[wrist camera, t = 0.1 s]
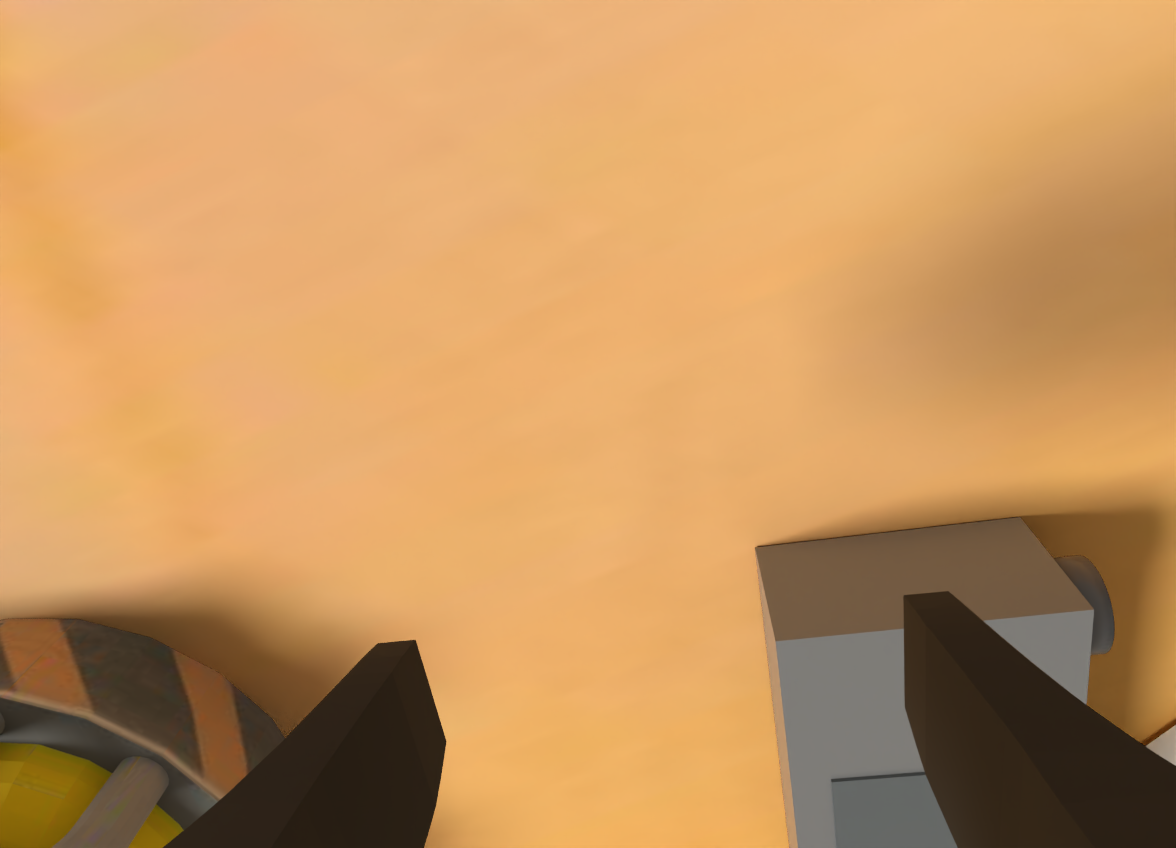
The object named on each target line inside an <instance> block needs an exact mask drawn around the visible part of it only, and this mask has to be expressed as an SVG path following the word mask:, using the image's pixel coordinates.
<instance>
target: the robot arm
mask: <svg viewBox="0 0 1176 848" xmlns="http://www.w3.org/2000/svg"><path fill="white" fill-rule="evenodd" d="M903 604H904V696H905V710H906V713H907V716H908V720H909V723H910V726H911V730H912V733H913V736H914V740H915V743H916V746H917V749H918V753H919V756H920V759H921V762H922V765H923V768H924V771H925V775H926V777H927V779H928V782H929V784H930V786H931V789H932V791H933V793H934V795H935V798H936V800H937V802H938V805H939V807H940V809H941V811H942V814H943V816H944V818H945V820H946V823H947V825H948V827H949V830H950V832H951V834H952V836H953V839H954V841H955V843H956V845H957V848H1176V766H1175V765H1174V764H1172V763H1171V762H1169V761H1167V760H1166V759H1164V758H1162V757H1161V756H1159V755H1158V754H1156V753H1155V752H1153V751H1152V750H1150V749H1149V748H1147V747H1146V746H1144V745H1143V744H1141V743H1140V742H1138V741H1136V740H1135V739H1134V738H1132V737H1131V736H1129V735H1128V734H1126V733H1125V732H1124V731H1122V730H1121V729H1119V728H1118V727H1116V726H1115V725H1114V724H1112V723H1111V722H1109V721H1108V720H1107V719H1105V718H1104V717H1102V716H1101V715H1100V714H1098V713H1097V712H1095V711H1094V710H1093V709H1091V708H1090V707H1089V706H1087V705H1086V704H1085V703H1083V702H1082V701H1081V700H1079V699H1078V698H1077V697H1075V696H1074V695H1073V694H1071V693H1070V692H1069V691H1068V690H1066V689H1065V688H1064V687H1063V686H1061V685H1060V684H1059V683H1058V682H1056V681H1055V680H1054V679H1052V678H1051V677H1050V676H1049V675H1047V674H1046V673H1045V672H1044V671H1042V670H1041V669H1040V668H1039V667H1037V666H1036V665H1035V664H1034V663H1032V662H1031V661H1030V660H1029V659H1028V658H1026V657H1025V656H1024V655H1023V654H1021V653H1020V652H1019V651H1018V650H1017V649H1016V648H1014V647H1013V646H1012V645H1011V644H1010V643H1008V642H1007V641H1006V640H1005V639H1004V638H1003V637H1001V636H1000V635H999V634H998V633H997V632H996V631H994V630H993V629H992V628H991V627H990V626H989V625H987V624H986V623H985V622H984V621H983V620H982V619H981V618H979V617H978V616H977V615H976V614H975V613H974V612H973V611H971V610H970V609H969V608H968V607H967V606H966V605H964V604H963V603H962V602H961V601H960V600H959V599H957V598H956V597H955V596H954V595H953V594H951V593H950V592H949V591H943V592H932V593H921V594H910V595H903ZM445 747H446V739H445V736H444V732H443V729H442V726H441V722H440V719H439V716H438V712H437V709H436V706H435V703H434V699H433V696H432V693H431V689H430V686H429V683H428V679H427V676H426V673H425V670H424V666H423V663H422V660H421V656H420V653H419V650H418V646H417V643H416V640H410V641H399V642H388V643H378V644H377V645H375V646H374V647H373V648H372V649H371V650H370V651H369V652H368V653H367V654H366V655H365V656H364V657H363V658H362V659H361V660H360V661H359V662H358V663H357V664H356V665H355V666H354V668H353V669H352V670H351V671H350V672H349V673H348V674H347V675H346V676H345V677H344V678H343V679H342V680H341V681H340V682H339V683H338V684H337V685H336V686H335V688H334V689H333V690H332V691H331V692H330V693H329V694H328V695H327V696H326V697H325V698H324V699H323V700H322V701H321V702H320V703H319V704H318V705H317V706H316V707H315V708H314V709H313V710H312V711H311V712H310V714H309V715H308V716H307V717H306V718H305V719H304V720H303V721H302V722H301V723H300V724H299V725H298V726H297V727H296V728H295V729H294V730H293V731H292V732H291V733H290V734H289V735H288V736H287V737H286V738H285V739H284V740H283V741H282V742H281V743H280V744H279V745H278V746H277V747H276V748H275V749H274V750H273V751H272V752H271V753H269V754H268V755H267V756H266V757H265V758H264V759H263V760H262V761H261V762H260V763H259V764H258V765H257V766H256V767H255V768H254V769H253V770H252V771H250V772H249V773H248V774H247V775H246V776H245V777H244V778H243V779H242V780H241V781H240V782H239V783H238V784H237V785H236V786H235V787H234V788H233V789H231V790H230V791H229V792H228V793H227V794H226V795H225V796H224V797H223V798H221V799H220V800H219V801H218V802H217V803H216V804H215V805H214V806H212V807H211V808H210V809H209V810H208V811H207V812H205V813H204V814H203V815H202V816H201V817H200V818H198V819H197V820H196V821H195V822H193V823H192V824H191V825H190V826H189V827H187V828H186V829H185V830H184V831H182V832H181V833H180V834H179V835H177V836H176V837H175V838H174V839H173V840H171V841H170V842H169V843H168V844H166V845H165V846H164V847H163V848H424V846H425V842H426V839H427V835H428V832H429V828H430V825H431V822H432V818H433V814H434V811H435V807H436V802H437V796H438V791H439V785H440V780H441V773H442V767H443V760H444V753H445Z"/></svg>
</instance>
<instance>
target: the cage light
mask: <svg viewBox="0 0 1176 848" xmlns="http://www.w3.org/2000/svg"><path fill="white" fill-rule="evenodd" d="M284 739H285V737H284V736H283V734H282V733H281V731H280V730H279V728H278V727H277V725H276V724H275V722H274V721H273V719H272V718H271V717H270V716H269V715H267V714H266V713H265V712H264V711H263V710H262V709H260V708H259V707H258V706H257V705H256V704H255V703H253V702H252V701H251V700H250V699H249V698H248V697H246V696H245V695H244V694H243V693H242V692H241V691H239V690H238V689H237V688H236V687H235V686H234V685H232V684H231V683H230V682H229V681H228V680H227V679H225V678H224V677H223V676H222V675H221V674H220V673H218V672H216V671H214V670H213V669H211V668H209V667H207V666H205V665H203V664H201V663H199V662H197V661H195V660H193V659H191V658H189V657H187V656H185V655H183V654H182V653H180V652H178V651H176V650H174V649H172V648H170V647H168V646H166V645H164V644H162V643H160V642H158V641H156V640H154V639H153V638H150V637H146V636H142V635H138V634H134V633H130V632H126V631H122V630H119V629H115V628H111V627H107V626H103V625H99V624H95V623H91V622H88V621H84V620H80V619H3V620H0V848H163V847H164V846H165V845H166V844H168V843H169V842H170V841H171V840H173V839H174V838H175V837H176V836H177V835H179V834H180V833H181V832H182V831H184V830H185V829H186V828H187V827H189V826H190V825H191V824H192V823H193V822H195V821H196V820H197V819H198V818H200V817H201V816H202V815H203V814H204V813H205V812H207V811H208V810H209V809H210V808H211V807H212V806H214V805H215V804H216V803H217V802H218V801H219V800H220V799H221V798H223V797H224V796H225V795H226V794H227V793H228V792H229V791H230V790H231V789H233V788H234V787H235V786H236V785H237V784H238V783H239V782H240V781H241V780H242V779H243V778H244V777H245V776H246V775H247V774H248V773H249V772H250V771H252V770H253V769H254V768H255V767H256V766H257V765H258V764H259V763H260V762H261V761H262V760H263V759H264V758H265V757H266V756H267V755H268V754H269V753H271V752H272V751H273V750H274V749H275V748H276V747H277V746H278V745H279V744H280V743H281V742H282V741H283V740H284Z"/></svg>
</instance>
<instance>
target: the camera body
mask: <svg viewBox="0 0 1176 848" xmlns="http://www.w3.org/2000/svg"><path fill="white" fill-rule="evenodd" d="M755 552H756V561H757V570H758V579H759V587H760V596H761V605H762V613H763V622H764V631H765V640H766V648H767V657H768V666H769V675H770V683H771V692H772V701H773V710H774V718H775V727H776V736H777V744H778V753H779V762H780V771H781V779H782V788H783V797H784V806H785V814H786V823H787V832H788V841H789V848H957V845H956V843H955V841H954V839H953V836H952V834H951V832H950V830H949V827H948V825H947V823H946V820H945V818H944V816H943V814H942V811H941V809H940V807H939V805H938V802H937V800H936V798H935V795H934V793H933V791H932V789H931V786H930V784H929V782H928V779H927V777H926V775H925V771H924V768H923V765H922V762H921V759H920V756H919V753H918V749H917V746H916V743H915V740H914V736H913V733H912V730H911V726H910V723H909V720H908V716H907V713H906V710H905V696H904V604H903V595H910V594H921V593H932V592H943V591H949V592H950V593H951V594H953V595H954V596H955V597H956V598H957V599H959V600H960V601H961V602H962V603H963V604H964V605H966V606H967V607H968V608H969V609H970V610H971V611H973V612H974V613H975V614H976V615H977V616H978V617H979V618H981V619H982V620H983V621H984V622H985V623H986V624H987V625H989V626H990V627H991V628H992V629H993V630H994V631H996V632H997V633H998V634H999V635H1000V636H1001V637H1003V638H1004V639H1005V640H1006V641H1007V642H1008V643H1010V644H1011V645H1012V646H1013V647H1014V648H1016V649H1017V650H1018V651H1019V652H1020V653H1021V654H1023V655H1024V656H1025V657H1026V658H1028V659H1029V660H1030V661H1031V662H1032V663H1034V664H1035V665H1036V666H1037V667H1039V668H1040V669H1041V670H1042V671H1044V672H1045V673H1046V674H1047V675H1049V676H1050V677H1051V678H1052V679H1054V680H1055V681H1056V682H1058V683H1059V684H1060V685H1061V686H1063V687H1064V688H1065V689H1066V690H1068V691H1069V692H1070V693H1071V694H1073V695H1074V696H1075V697H1077V698H1078V699H1079V700H1081V701H1082V702H1083V703H1085V704H1087V692H1088V679H1089V667H1090V655H1099V654H1105V653H1107V652H1108V651H1109V650H1110V649H1111V647H1112V644H1113V640H1114V616H1113V610H1112V605H1111V601H1110V598H1109V594H1108V592H1107V589H1106V586H1105V584H1104V582H1103V580H1102V577H1101V576H1100V574H1099V572H1098V571H1097V569H1096V567H1095V566H1094V565H1093V564H1092V563H1091V562H1090V561H1089V560H1088V559H1087V558H1086V557H1084V556H1081V555H1075V556H1066V557H1057V558H1053V557H1052V556H1051V555H1050V554H1049V552H1048V551H1047V550H1046V549H1045V547H1044V546H1043V545H1042V544H1041V542H1040V541H1039V540H1038V539H1037V537H1036V536H1035V535H1034V534H1033V532H1032V531H1031V530H1030V529H1029V527H1028V526H1027V525H1026V524H1025V522H1024V521H1023V520H1022V519H1021V517H1016V518H1008V519H999V520H990V521H982V522H973V523H964V524H955V525H947V526H938V527H929V528H921V529H912V530H903V531H894V532H886V533H877V534H868V535H860V536H851V537H842V538H834V539H825V540H816V541H807V542H799V543H790V544H781V545H773V546H764V547H755Z"/></svg>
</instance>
